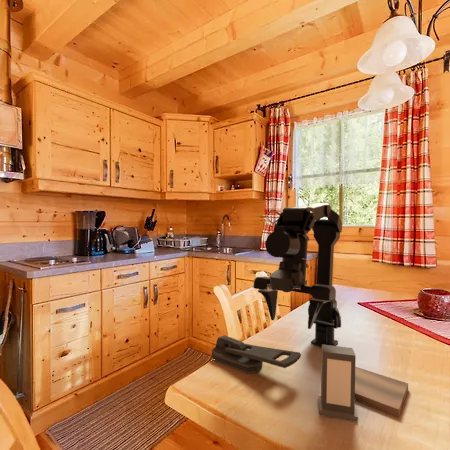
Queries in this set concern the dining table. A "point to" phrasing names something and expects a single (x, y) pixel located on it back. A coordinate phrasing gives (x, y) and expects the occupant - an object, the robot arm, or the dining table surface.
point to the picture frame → (338, 383)
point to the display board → (380, 391)
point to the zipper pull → (249, 355)
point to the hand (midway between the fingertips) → (290, 324)
